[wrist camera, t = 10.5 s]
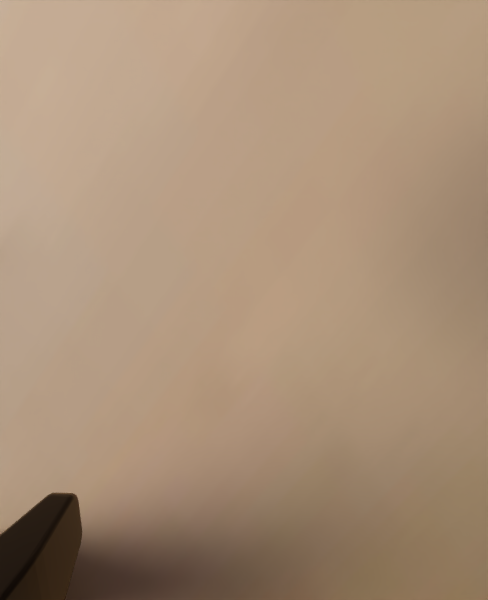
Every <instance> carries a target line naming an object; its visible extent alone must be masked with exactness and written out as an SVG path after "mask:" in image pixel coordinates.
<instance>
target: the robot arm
mask: <svg viewBox="0 0 488 600" xmlns="http://www.w3.org/2000/svg"><path fill="white" fill-rule="evenodd" d="M81 538H82V526H81V518H80V510H79V502H78V498H77V496H76V495H75V494H73V493H51V494H49V495H48V496H46V497H45V498H44V499H43V500H41V501H40V502H39V503H38V504H37V505H35V506H34V507H33V508H32V509H31V510H29V511H28V512H27V513H26V514H25V515H24V516H22V517H21V518H20V519H19V520H18V521H16V522H15V523H14V524H13V525H12V526H10V527H9V528H8V529H7V530H6V531H4V532H3V533H2V534H1V535H0V600H65V597H66V594H67V590H68V587H69V583H70V579H71V576H72V572H73V569H74V565H75V562H76V558H77V555H78V551H79V547H80V544H81Z"/></svg>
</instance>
